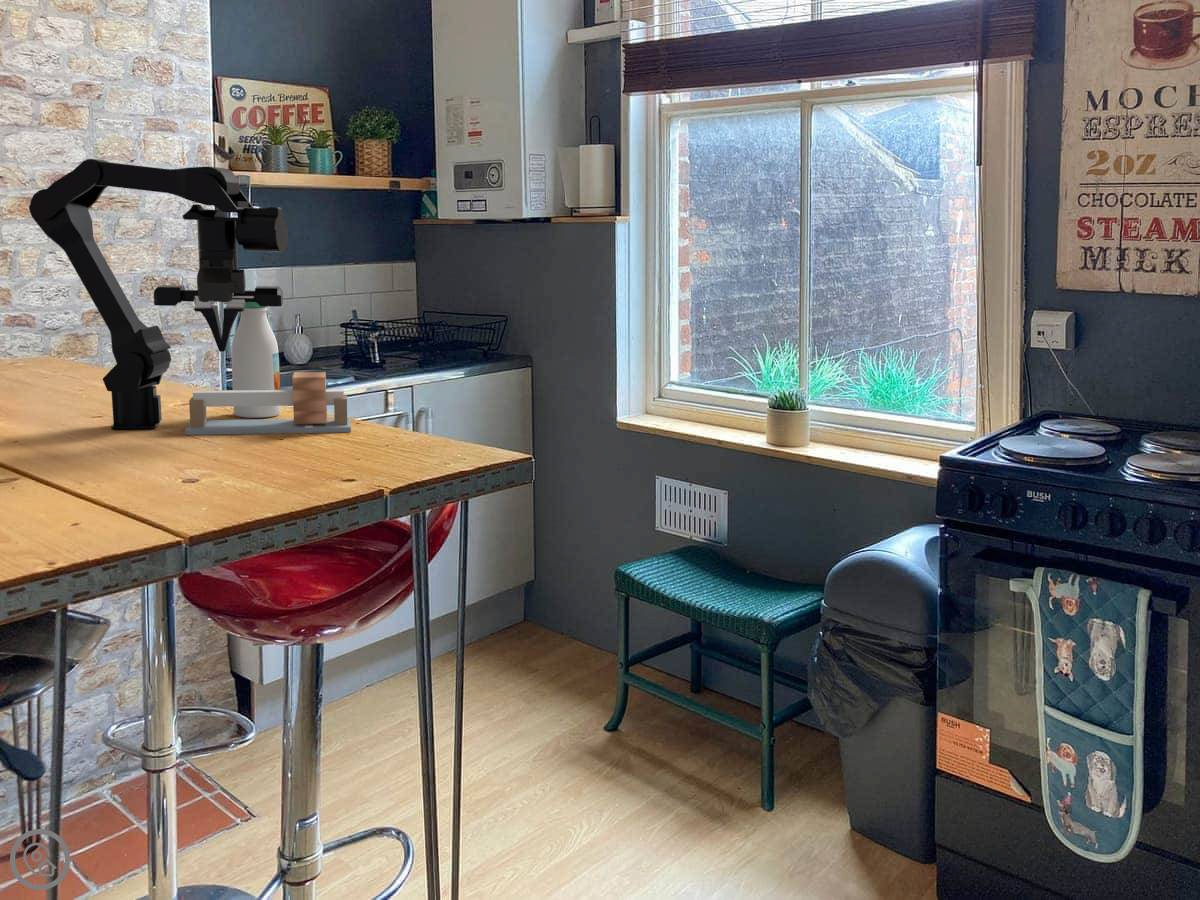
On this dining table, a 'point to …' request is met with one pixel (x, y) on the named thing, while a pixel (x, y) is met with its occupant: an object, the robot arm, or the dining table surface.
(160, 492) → the dining table surface
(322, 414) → the collar
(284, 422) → the rail
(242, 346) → the milk bottle
